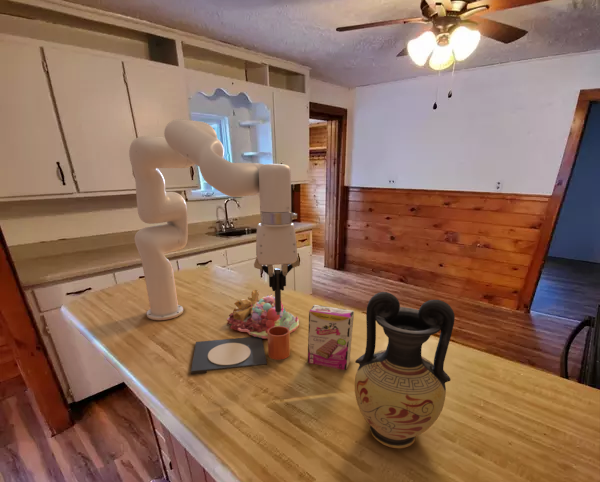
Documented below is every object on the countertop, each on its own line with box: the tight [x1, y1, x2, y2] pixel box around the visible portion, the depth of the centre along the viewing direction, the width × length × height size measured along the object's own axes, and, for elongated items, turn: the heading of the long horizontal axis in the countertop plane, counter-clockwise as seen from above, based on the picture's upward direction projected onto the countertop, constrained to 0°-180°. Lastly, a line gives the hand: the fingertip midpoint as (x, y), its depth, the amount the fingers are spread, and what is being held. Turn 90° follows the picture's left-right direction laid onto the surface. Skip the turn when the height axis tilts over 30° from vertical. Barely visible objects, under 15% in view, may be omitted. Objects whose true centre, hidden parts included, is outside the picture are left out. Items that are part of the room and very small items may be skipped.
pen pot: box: [267, 326, 291, 361], centre depth 96 cm, size 6×6×8 cm
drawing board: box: [190, 336, 268, 375], centre depth 97 cm, size 16×20×1 cm
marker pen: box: [273, 267, 282, 315], centre depth 90 cm, size 2×2×13 cm
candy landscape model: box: [226, 289, 299, 340], centre depth 115 cm, size 25×24×9 cm
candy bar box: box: [307, 304, 355, 371], centre depth 90 cm, size 11×5×16 cm, turn 71°
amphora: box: [354, 291, 456, 449], centre depth 64 cm, size 18×17×30 cm
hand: (277, 288), depth 89 cm, fingers closed on marker pen, 1 cm apart
